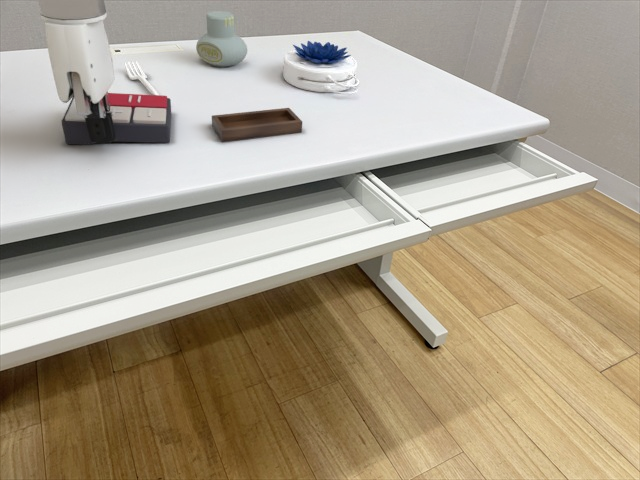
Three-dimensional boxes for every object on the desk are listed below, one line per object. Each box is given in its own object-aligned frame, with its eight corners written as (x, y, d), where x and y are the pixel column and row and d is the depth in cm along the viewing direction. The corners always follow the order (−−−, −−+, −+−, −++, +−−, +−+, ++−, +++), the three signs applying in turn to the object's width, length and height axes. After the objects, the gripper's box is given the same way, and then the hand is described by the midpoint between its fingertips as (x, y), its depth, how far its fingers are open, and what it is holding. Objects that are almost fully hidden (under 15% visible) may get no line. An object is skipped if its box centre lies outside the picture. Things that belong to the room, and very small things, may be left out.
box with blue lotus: (271, 37, 100) (320, 69, 87) (333, 33, 107) (386, 61, 94) (270, 70, 104) (316, 105, 91) (330, 64, 111) (381, 95, 98)
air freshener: (190, 61, 104) (186, 12, 98) (215, 52, 110) (213, 6, 104) (230, 73, 100) (229, 23, 94) (253, 64, 106) (253, 16, 100)
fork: (156, 109, 83) (154, 99, 82) (123, 71, 96) (122, 62, 95) (174, 106, 85) (173, 96, 84) (140, 69, 97) (138, 60, 96)
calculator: (168, 121, 72) (59, 117, 68) (170, 146, 75) (65, 144, 71) (170, 93, 80) (73, 88, 76) (171, 117, 83) (77, 113, 79)
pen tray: (222, 142, 76) (221, 130, 75) (212, 126, 80) (211, 115, 79) (301, 132, 81) (302, 121, 80) (288, 118, 85) (289, 107, 84)
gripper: (61, -10, 64) (92, 118, 75) (14, 17, 52) (59, 164, 63) (118, -7, 65) (141, 119, 76) (85, 21, 53) (117, 165, 64)
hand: (103, 139), depth 70 cm, fingers closed
